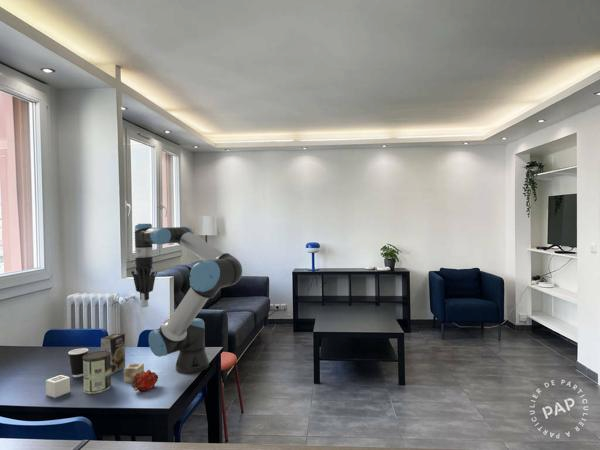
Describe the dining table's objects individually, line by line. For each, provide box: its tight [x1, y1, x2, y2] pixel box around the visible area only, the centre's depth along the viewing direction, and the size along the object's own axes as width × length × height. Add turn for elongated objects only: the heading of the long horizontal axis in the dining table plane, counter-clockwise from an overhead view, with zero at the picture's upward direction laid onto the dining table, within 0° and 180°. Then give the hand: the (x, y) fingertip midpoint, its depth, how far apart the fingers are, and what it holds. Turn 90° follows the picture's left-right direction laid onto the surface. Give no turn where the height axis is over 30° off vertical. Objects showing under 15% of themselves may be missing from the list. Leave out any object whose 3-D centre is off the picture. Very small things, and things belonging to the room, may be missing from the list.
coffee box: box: [100, 333, 126, 375], centre depth 178 cm, size 9×6×16 cm
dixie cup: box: [68, 347, 89, 378], centre depth 173 cm, size 8×8×11 cm
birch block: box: [123, 362, 145, 383], centre depth 167 cm, size 6×6×6 cm
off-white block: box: [45, 374, 71, 399], centre depth 154 cm, size 6×6×6 cm
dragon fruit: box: [131, 369, 159, 393], centre depth 157 cm, size 8×8×12 cm
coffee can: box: [83, 350, 112, 395], centre depth 158 cm, size 10×10×14 cm
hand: (144, 306), depth 178 cm, fingers closed
